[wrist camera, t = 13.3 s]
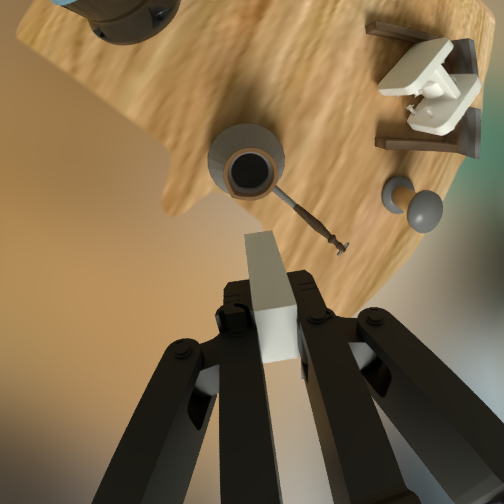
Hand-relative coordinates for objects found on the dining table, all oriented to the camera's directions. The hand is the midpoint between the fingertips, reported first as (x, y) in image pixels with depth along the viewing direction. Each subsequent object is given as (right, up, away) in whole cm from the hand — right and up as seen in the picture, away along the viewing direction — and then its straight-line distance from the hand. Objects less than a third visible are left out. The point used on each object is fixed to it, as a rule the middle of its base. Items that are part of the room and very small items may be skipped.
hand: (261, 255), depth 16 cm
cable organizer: (+28, +30, +23) cm, 47 cm away
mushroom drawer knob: (+26, +11, +32) cm, 43 cm away
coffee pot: (+2, +12, +30) cm, 32 cm away
